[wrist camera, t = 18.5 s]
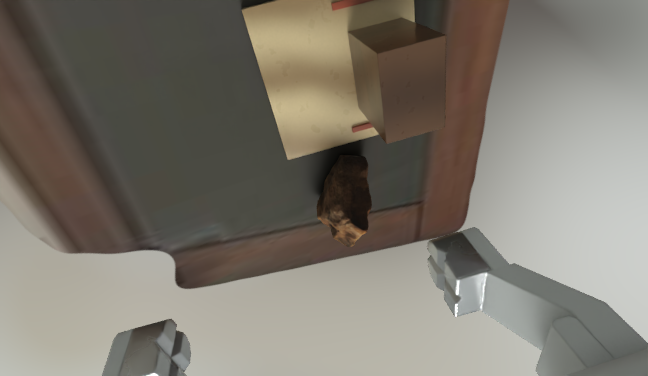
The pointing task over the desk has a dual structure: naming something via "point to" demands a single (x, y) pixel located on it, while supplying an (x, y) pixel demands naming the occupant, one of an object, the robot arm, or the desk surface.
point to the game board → (315, 66)
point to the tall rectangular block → (400, 77)
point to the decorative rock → (346, 199)
